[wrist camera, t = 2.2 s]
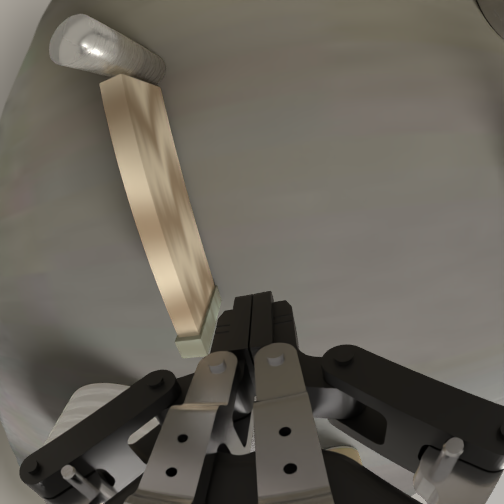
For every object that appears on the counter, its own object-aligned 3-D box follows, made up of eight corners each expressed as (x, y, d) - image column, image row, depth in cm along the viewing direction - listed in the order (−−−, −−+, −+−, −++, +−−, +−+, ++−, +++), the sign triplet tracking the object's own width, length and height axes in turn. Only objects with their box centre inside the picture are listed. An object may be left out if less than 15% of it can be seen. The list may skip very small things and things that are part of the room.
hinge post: (130, 62, 21) (47, 31, 10) (162, 50, 21) (91, 4, 10) (137, 92, 22) (51, 74, 11) (168, 80, 22) (97, 49, 11)
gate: (141, 94, 22) (92, 84, 15) (162, 86, 22) (120, 71, 14) (201, 303, 29) (182, 358, 22) (221, 300, 29) (207, 355, 21)
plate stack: (271, 452, 40) (270, 515, 29) (172, 487, 48) (162, 531, 37) (110, 350, 33) (70, 419, 23) (53, 416, 42) (28, 460, 31)
